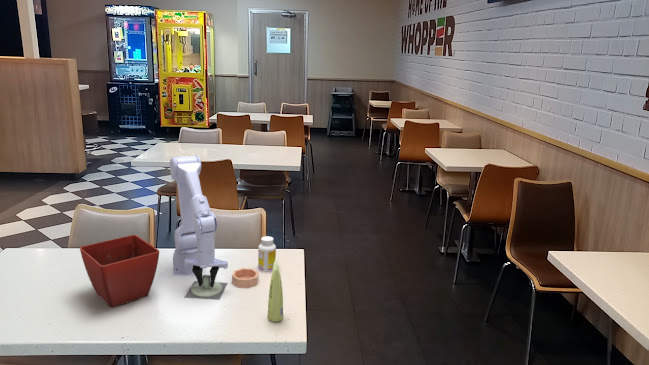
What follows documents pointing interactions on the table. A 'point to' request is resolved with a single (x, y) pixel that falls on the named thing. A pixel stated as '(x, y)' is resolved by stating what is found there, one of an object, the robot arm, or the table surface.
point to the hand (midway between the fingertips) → (206, 285)
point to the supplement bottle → (266, 254)
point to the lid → (206, 288)
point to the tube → (275, 295)
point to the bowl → (245, 278)
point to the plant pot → (121, 268)
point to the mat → (216, 297)
